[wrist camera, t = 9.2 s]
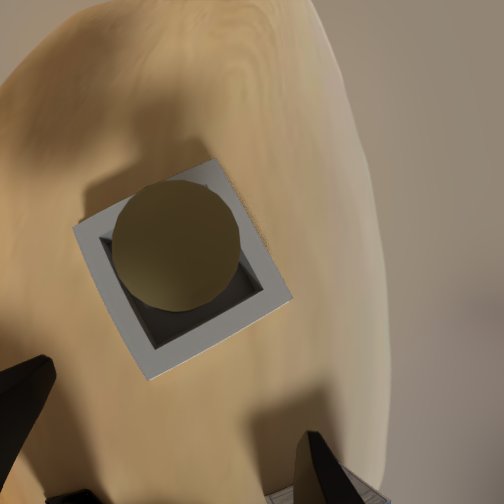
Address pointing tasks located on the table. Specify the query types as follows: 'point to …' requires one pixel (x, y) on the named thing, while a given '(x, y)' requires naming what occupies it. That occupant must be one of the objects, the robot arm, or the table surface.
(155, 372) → the socket plate
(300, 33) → the table surface
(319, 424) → the table surface
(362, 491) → the medicine box
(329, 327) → the table surface
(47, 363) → the robot arm
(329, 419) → the table surface
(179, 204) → the cork
